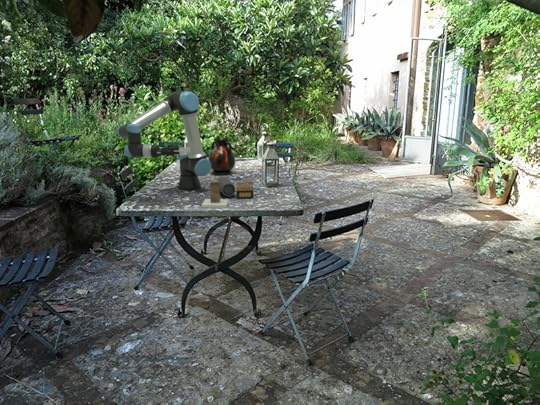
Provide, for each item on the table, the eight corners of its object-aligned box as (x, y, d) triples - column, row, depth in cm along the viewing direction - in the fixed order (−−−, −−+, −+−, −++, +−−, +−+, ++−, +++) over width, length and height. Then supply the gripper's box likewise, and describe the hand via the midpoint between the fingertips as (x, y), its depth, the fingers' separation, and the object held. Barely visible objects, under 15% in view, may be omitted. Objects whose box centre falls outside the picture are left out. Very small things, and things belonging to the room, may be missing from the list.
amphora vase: (202, 174, 360) (201, 138, 353) (220, 170, 377) (220, 136, 370) (223, 177, 348) (222, 140, 341) (241, 173, 365) (240, 138, 358)
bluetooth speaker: (215, 191, 302) (215, 176, 300) (229, 190, 304) (229, 175, 302) (221, 198, 281) (221, 182, 278) (236, 197, 283) (236, 182, 281)
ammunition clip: (236, 199, 280) (236, 180, 277) (236, 198, 282) (235, 179, 279) (253, 198, 282) (253, 179, 279) (253, 197, 283) (253, 178, 281)
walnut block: (211, 201, 268) (211, 181, 265) (220, 201, 268) (219, 181, 265) (210, 202, 264) (210, 182, 261) (219, 202, 264) (218, 182, 261)
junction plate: (205, 201, 273) (205, 199, 273) (228, 201, 273) (228, 199, 273) (201, 207, 260) (201, 204, 259) (226, 207, 259) (226, 205, 259)
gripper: (157, 154, 280) (191, 154, 280) (146, 160, 256) (183, 160, 256) (156, 142, 279) (191, 142, 278) (145, 147, 254) (183, 147, 254)
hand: (187, 151), depth 267 cm, fingers open, 13 cm apart
